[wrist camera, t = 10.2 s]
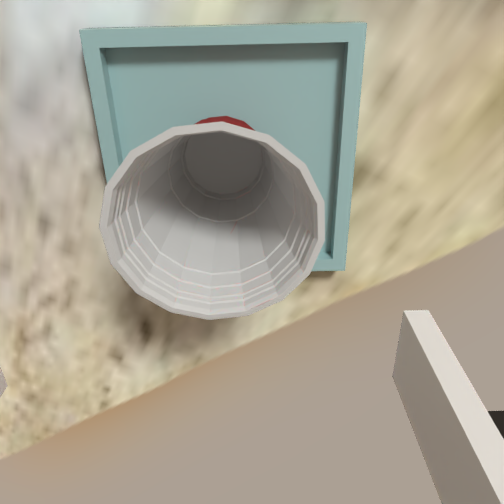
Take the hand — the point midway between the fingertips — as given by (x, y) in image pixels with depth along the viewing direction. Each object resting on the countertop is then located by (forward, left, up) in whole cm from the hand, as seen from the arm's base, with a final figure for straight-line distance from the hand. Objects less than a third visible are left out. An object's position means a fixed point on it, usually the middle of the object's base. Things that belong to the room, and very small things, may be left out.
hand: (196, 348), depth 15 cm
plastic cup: (0, 0, -20) cm, 20 cm away
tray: (0, 0, -21) cm, 21 cm away
